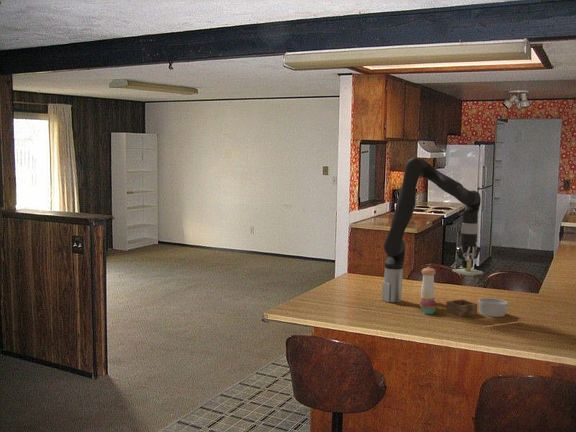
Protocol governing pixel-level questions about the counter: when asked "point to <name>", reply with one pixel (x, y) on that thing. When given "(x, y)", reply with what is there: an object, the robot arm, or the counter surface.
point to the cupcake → (428, 305)
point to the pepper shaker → (427, 284)
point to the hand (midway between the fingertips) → (467, 267)
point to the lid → (468, 269)
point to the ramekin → (492, 307)
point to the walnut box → (461, 308)
